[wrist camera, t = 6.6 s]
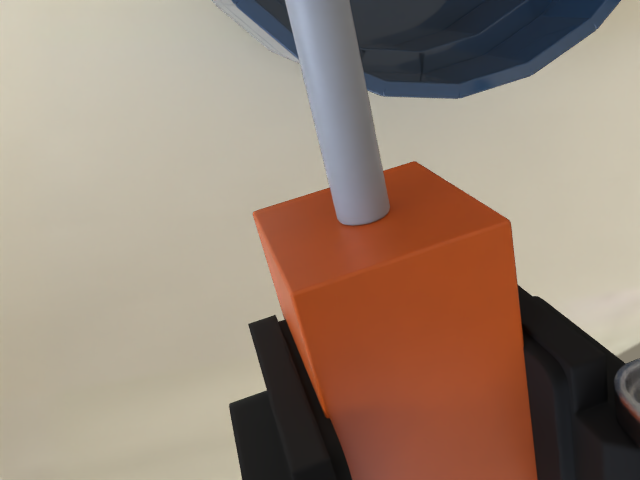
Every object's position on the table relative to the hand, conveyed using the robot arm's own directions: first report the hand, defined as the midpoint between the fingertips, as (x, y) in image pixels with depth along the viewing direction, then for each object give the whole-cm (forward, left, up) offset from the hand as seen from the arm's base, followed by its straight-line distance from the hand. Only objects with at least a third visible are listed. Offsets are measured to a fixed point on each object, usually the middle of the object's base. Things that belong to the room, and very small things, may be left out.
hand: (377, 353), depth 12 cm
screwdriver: (0, +2, 0) cm, 3 cm away
